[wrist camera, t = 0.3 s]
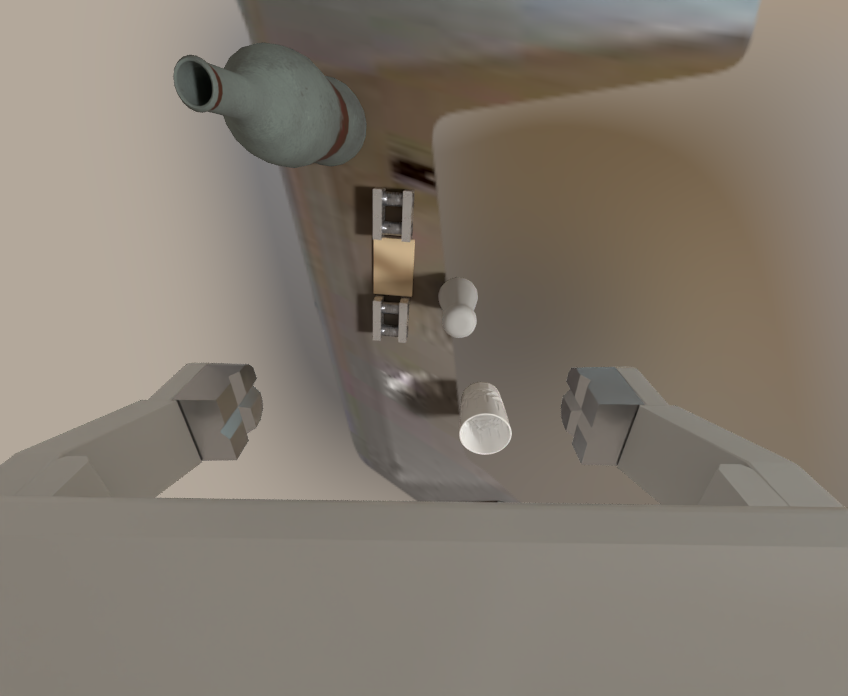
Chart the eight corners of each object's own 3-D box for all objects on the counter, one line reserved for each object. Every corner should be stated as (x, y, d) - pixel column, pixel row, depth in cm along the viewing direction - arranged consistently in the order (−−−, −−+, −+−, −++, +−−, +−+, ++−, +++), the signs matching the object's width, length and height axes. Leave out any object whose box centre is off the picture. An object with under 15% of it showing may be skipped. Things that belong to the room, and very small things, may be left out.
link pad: (373, 236, 55) (373, 237, 54) (414, 239, 54) (414, 240, 54) (373, 293, 59) (373, 293, 58) (412, 296, 58) (411, 296, 58)
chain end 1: (376, 187, 52) (372, 188, 49) (415, 190, 51) (413, 191, 49) (376, 235, 55) (372, 239, 52) (412, 238, 54) (410, 242, 52)
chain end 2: (375, 294, 59) (372, 300, 56) (410, 297, 58) (408, 303, 56) (375, 332, 62) (372, 339, 59) (408, 334, 61) (406, 342, 59)
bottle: (362, 175, 51) (262, 191, 24) (296, 153, 50) (120, 145, 24) (378, 96, 47) (279, 11, 20) (307, 71, 46) (107, -51, 19)
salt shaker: (437, 307, 59) (433, 343, 47) (440, 271, 56) (437, 300, 45) (474, 310, 59) (479, 347, 47) (479, 275, 56) (486, 305, 45)
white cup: (449, 391, 66) (449, 427, 57) (488, 370, 63) (494, 405, 54) (473, 422, 68) (476, 461, 59) (511, 403, 66) (520, 441, 57)
